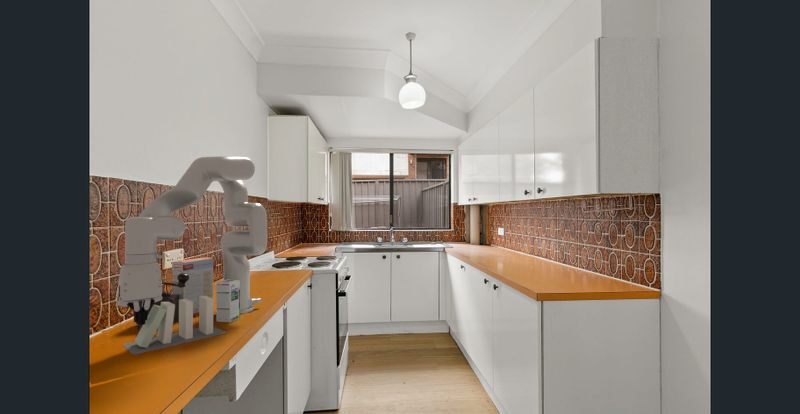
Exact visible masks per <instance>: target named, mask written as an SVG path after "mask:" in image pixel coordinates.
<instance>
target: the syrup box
mask: <svg viewBox="0 0 800 414" xmlns="http://www.w3.org/2000/svg"><path fill="white" fill-rule="evenodd" d="M215 287H216V288H215V291H216V292H215V294H216V295H215V297H216V300H215V302H216V303H215V304H216V306H215V307H216V311H215V313H216V317H215V318H216V322H219V323H232V322H235V321H237V320H240V319H241V314H240V280H237V279H226V280H224V281H223V280H220V281H217V282H216V284H215Z"/></svg>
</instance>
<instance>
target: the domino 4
mask: <svg viewBox="0 0 800 414" xmlns="http://www.w3.org/2000/svg"><path fill="white" fill-rule="evenodd" d="M198 318H199V319H198V322H199V323H198V328H199V331H200V332H202V333H204V334H206V335H208V334H212V333H213V327H214V297H213V298H211V297H208V296H200V297H199V315H198Z"/></svg>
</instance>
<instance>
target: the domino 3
mask: <svg viewBox="0 0 800 414" xmlns="http://www.w3.org/2000/svg"><path fill="white" fill-rule="evenodd" d="M193 329H194V316H193V301H190V300H188V299H181V300H179V320H178V332H179V336H181V337H183V338H184V339H190V338H193Z"/></svg>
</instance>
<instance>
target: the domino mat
mask: <svg viewBox="0 0 800 414" xmlns="http://www.w3.org/2000/svg"><path fill="white" fill-rule="evenodd" d="M225 334H227V332H226V331H223V330H221V329H219V328H217V327H215V326H213V333H212V334H208V335H206V334H204V333H202V332H200V331H199V327H196V328H193V338H190V339H184V338H183V337H181V336H179V331H178V332H175V333H173V332H172V337H171V343H166V344H163V343H161V342H160V341H159V340H157V336H155V337H154V336H153V338H152V340H151V342H150V344H149V346H148V348H145V347H140V346H139V345H138V344H136V343H135V342H134V341H131V342H126V343H122V346H123V347H124V348H126V350H127V351H129V353H131V355H139V354H143V353H146V352H151V351H156V350H160V349H165V348H169V347H173V346H178V345H181V344H182V345H183V344H186V343H190V342H191V343H192V342H195V341H198V340H199V341H200V340H203V339H208V338H212V337H216V336H217V337H218V336H221V335H225Z"/></svg>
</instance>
